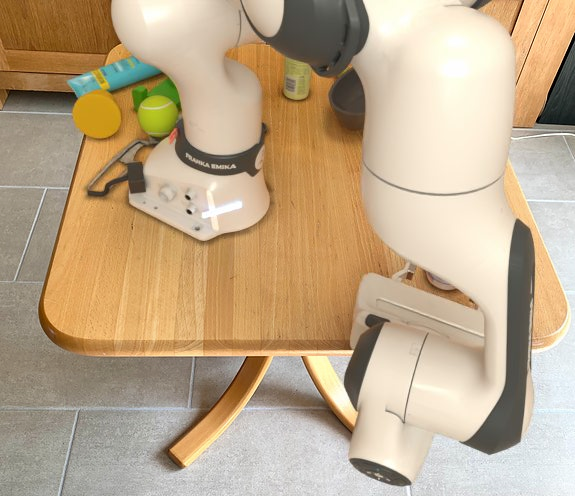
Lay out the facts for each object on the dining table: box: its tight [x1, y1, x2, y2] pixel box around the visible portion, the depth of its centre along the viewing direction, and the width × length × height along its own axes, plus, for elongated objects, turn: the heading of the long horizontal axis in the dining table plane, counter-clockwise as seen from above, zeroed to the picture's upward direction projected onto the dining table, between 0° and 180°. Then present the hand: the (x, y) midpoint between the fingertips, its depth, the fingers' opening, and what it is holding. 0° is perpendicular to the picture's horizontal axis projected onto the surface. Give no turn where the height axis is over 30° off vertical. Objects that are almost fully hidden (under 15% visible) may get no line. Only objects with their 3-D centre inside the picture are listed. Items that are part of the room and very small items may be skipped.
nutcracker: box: [86, 135, 161, 191], centre depth 103 cm, size 16×1×5 cm
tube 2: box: [282, 56, 313, 101], centre depth 111 cm, size 6×5×20 cm
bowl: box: [328, 66, 365, 132], centre depth 114 cm, size 12×22×6 cm, turn 140°
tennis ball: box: [137, 95, 180, 138], centre depth 105 cm, size 7×7×7 cm
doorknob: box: [71, 89, 123, 139], centre depth 107 cm, size 8×8×8 cm
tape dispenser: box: [131, 76, 182, 112], centre depth 114 cm, size 15×7×5 cm, turn 148°
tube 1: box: [66, 55, 164, 100], centre depth 117 cm, size 7×5×19 cm
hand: (444, 277), depth 84 cm, fingers open, 8 cm apart
